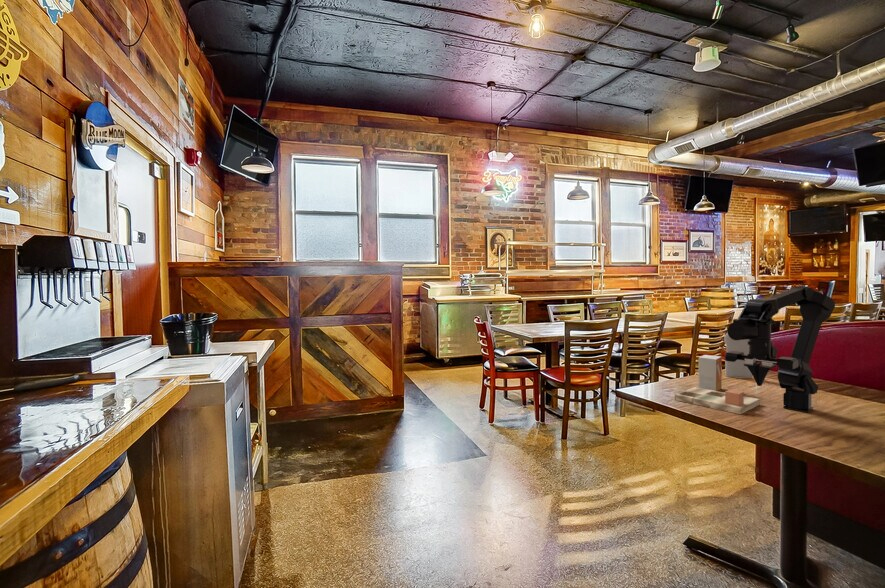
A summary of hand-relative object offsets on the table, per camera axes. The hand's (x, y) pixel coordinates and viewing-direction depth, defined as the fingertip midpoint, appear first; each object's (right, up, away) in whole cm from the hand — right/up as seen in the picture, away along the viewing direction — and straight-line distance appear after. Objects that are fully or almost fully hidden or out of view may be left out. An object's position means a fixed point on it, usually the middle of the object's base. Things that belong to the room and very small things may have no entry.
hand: (759, 385), depth 140 cm
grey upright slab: (+26, -7, +48) cm, 55 cm away
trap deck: (-5, -9, +14) cm, 17 cm away
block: (-4, -7, +6) cm, 10 cm away
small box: (+3, -8, +31) cm, 32 cm away
